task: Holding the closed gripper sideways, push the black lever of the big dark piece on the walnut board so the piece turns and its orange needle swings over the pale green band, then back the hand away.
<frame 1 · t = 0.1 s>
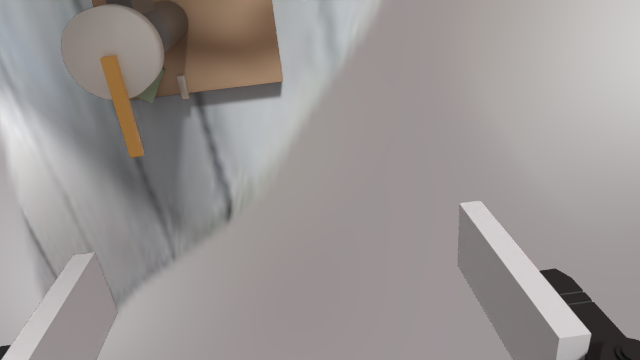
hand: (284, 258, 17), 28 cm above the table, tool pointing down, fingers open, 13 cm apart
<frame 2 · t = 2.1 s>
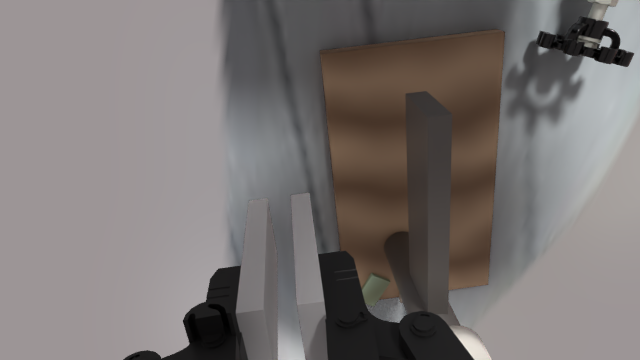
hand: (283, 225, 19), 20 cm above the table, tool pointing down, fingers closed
board: (411, 177, 42), on the table
dark piece: (424, 244, 34), point 9 cm above the table, hinge at 0.0°
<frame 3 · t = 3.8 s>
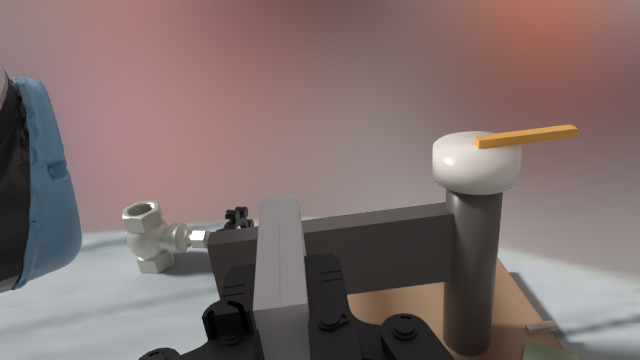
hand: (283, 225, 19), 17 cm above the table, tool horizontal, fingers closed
board: (378, 350, 35), on the table
dark piece: (389, 259, 29), point 9 cm above the table, hinge at 0.0°
valve: (193, 267, 47), on the table
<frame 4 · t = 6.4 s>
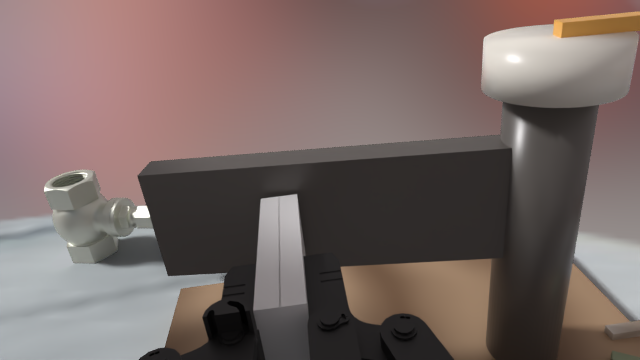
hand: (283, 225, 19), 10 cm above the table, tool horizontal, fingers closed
dark piece: (409, 219, 20), point 9 cm above the table, hinge at -8.1°, touching gripper
valve: (141, 254, 37), on the table
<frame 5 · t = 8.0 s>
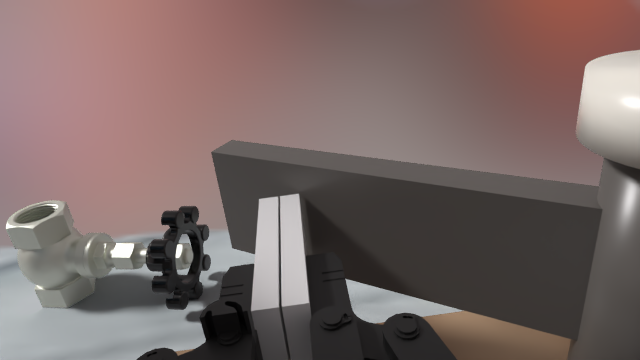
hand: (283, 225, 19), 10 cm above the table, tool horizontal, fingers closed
dark piece: (467, 260, 17), point 9 cm above the table, hinge at -34.4°, touching gripper
valve: (121, 296, 32), on the table
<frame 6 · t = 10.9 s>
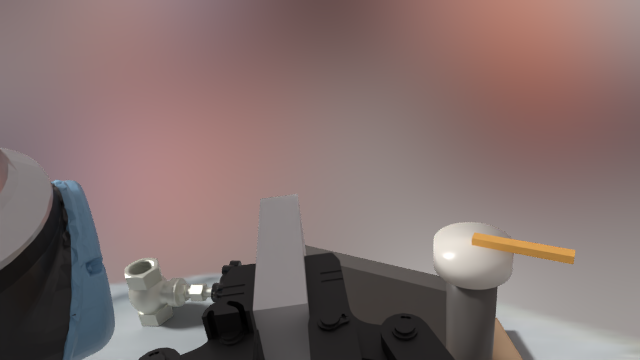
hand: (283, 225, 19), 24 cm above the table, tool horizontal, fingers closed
dark piece: (398, 308, 35), point 9 cm above the table, hinge at -34.4°
valve: (191, 317, 51), on the table
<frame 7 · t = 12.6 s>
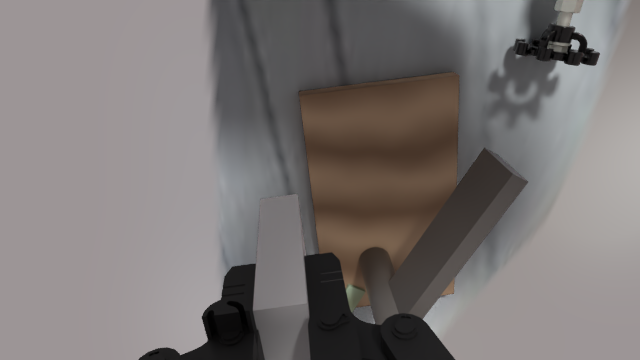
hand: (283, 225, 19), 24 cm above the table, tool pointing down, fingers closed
board: (382, 199, 47), on the table
dark piece: (423, 265, 39), point 9 cm above the table, hinge at -34.4°
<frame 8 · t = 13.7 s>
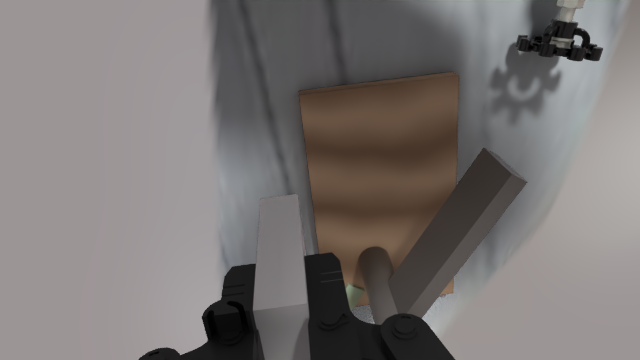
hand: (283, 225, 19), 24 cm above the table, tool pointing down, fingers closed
board: (382, 198, 47), on the table
dark piece: (422, 265, 39), point 9 cm above the table, hinge at -34.4°
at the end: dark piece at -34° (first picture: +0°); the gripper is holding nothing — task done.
